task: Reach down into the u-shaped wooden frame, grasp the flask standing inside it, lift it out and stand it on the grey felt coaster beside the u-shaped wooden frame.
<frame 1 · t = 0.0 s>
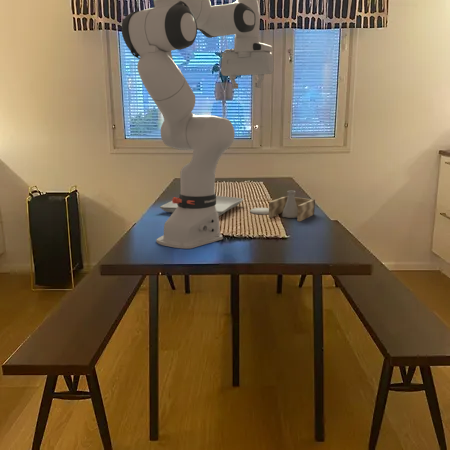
hand: (246, 88, 167), 48 cm above the table, tool pointing down, fingers open, 8 cm apart
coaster: (262, 211, 189), on the table
u-shaped wooden frame: (291, 215, 182), on the table
flask: (290, 216, 181), on the table
square plate: (203, 210, 194), on the table
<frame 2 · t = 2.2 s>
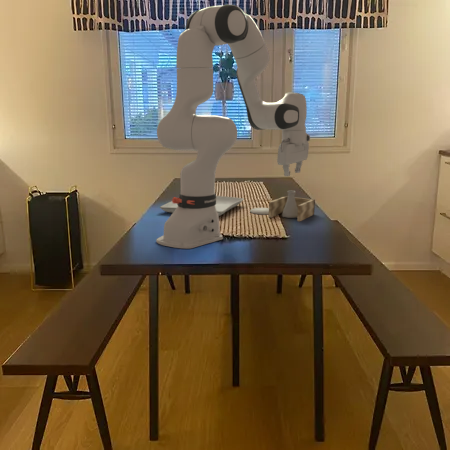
hand: (292, 174, 177), 16 cm above the table, tool pointing down, fingers open, 8 cm apart
nothing on the table moved.
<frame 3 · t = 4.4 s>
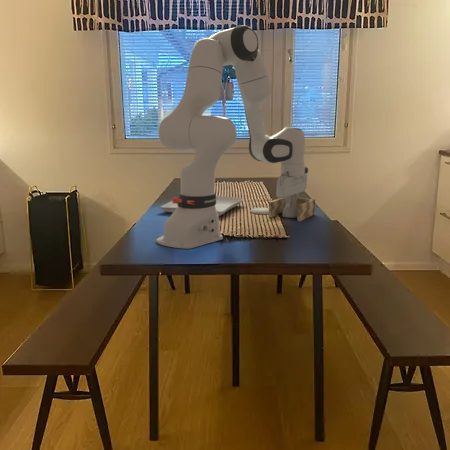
hand: (291, 205, 180), 4 cm above the table, tool pointing down, fingers closed on flask, 3 cm apart
flask: (290, 216, 181), on the table, touching gripper
everything else where it was.
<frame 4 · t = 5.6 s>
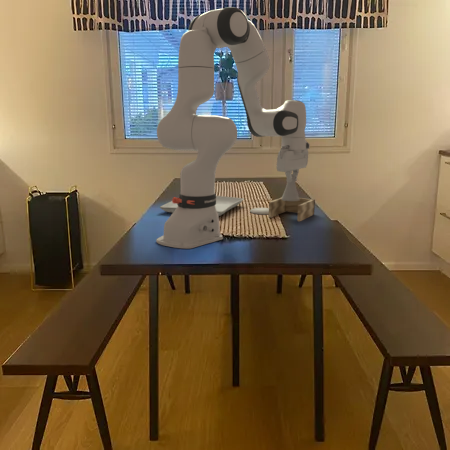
hand: (291, 181, 177), 14 cm above the table, tool pointing down, fingers closed on flask, 3 cm apart
flask: (290, 200, 179), point 6 cm above the table, touching gripper
everything else where it was.
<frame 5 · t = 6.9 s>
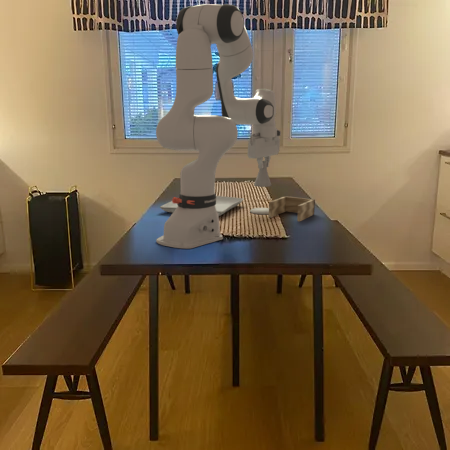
hand: (263, 167, 184), 18 cm above the table, tool pointing down, fingers closed on flask, 3 cm apart
flask: (262, 186, 186), point 10 cm above the table, touching gripper
everything else where it was.
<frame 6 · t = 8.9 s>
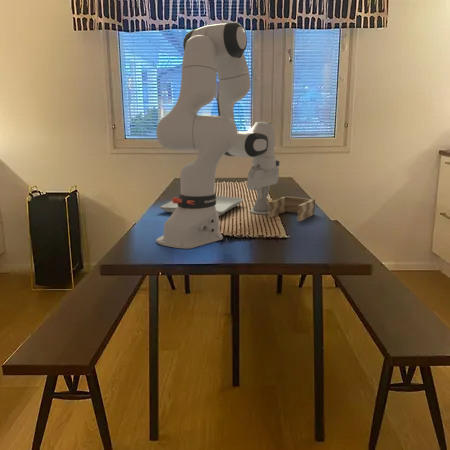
hand: (262, 197, 188), 6 cm above the table, tool pointing down, fingers closed on flask, 3 cm apart
flask: (261, 210, 189), on the table, touching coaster, gripper
everything else where it was.
when the fingers open (6 cm above the table, at t = 9.4 s): flask stays where it is, resting on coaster.
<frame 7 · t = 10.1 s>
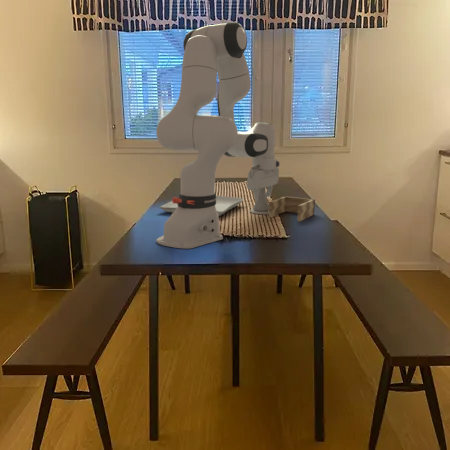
hand: (262, 198, 187), 6 cm above the table, tool pointing down, fingers open, 8 cm apart
flask: (261, 210, 189), resting on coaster
everything else where it was.
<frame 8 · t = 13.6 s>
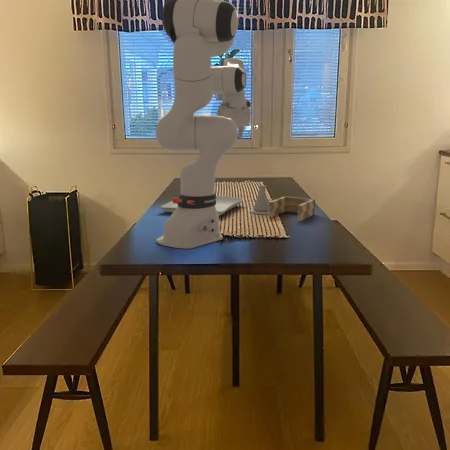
hand: (233, 139, 183), 29 cm above the table, tool pointing down, fingers open, 8 cm apart
nothing on the table moved.
at the end: flask inside the target area on the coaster (0.5 cm from its centre), point 0.4 cm above the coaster's base; flask tilted 0°; the gripper is holding nothing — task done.
